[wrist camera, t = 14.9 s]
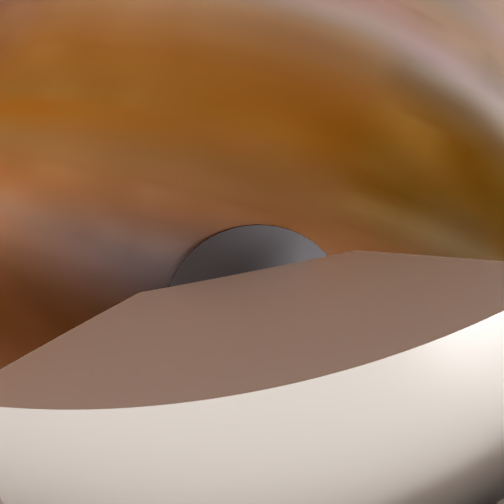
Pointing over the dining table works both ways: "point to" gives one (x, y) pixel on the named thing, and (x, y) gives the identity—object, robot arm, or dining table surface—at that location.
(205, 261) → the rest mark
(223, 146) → the dining table surface
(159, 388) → the cream matte cube
